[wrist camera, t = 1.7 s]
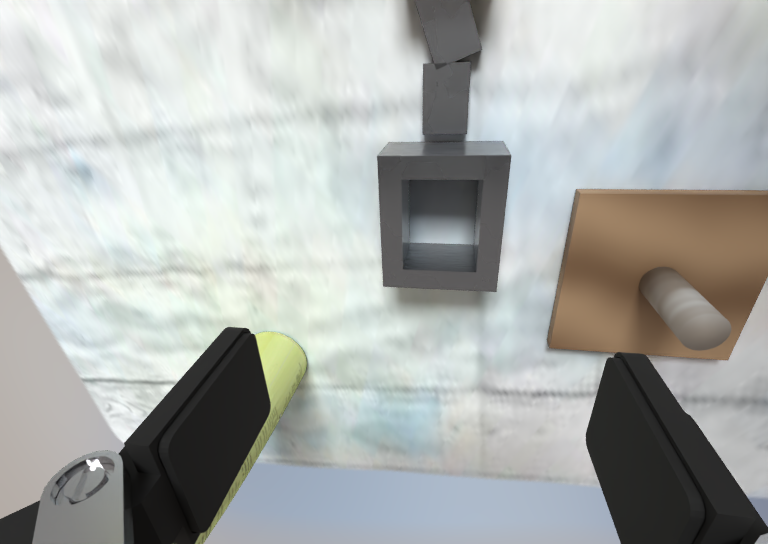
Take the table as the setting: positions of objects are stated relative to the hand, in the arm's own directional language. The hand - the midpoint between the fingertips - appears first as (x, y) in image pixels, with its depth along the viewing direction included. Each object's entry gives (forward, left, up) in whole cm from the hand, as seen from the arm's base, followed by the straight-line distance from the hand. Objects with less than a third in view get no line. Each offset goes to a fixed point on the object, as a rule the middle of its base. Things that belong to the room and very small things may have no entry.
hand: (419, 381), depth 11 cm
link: (0, 0, -14) cm, 14 cm away
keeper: (+4, +12, -14) cm, 19 cm away
